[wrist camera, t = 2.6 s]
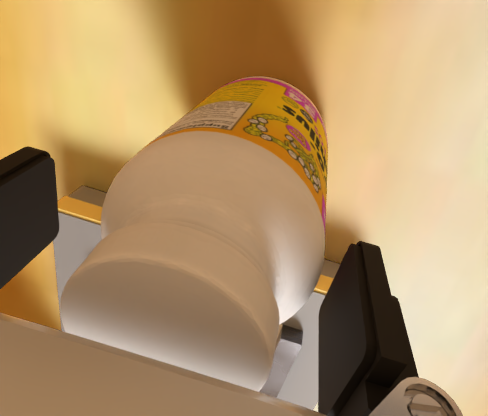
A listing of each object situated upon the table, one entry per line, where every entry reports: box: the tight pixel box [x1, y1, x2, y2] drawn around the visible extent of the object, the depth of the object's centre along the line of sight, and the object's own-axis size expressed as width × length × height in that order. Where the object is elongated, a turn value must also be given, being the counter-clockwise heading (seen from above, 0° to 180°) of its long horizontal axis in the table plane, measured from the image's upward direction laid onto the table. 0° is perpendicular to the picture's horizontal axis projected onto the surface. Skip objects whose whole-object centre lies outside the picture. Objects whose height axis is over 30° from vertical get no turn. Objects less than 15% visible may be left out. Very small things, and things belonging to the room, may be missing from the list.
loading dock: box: [53, 186, 340, 410], centre depth 24 cm, size 18×14×3 cm
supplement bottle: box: [60, 76, 328, 392], centre depth 13 cm, size 7×7×13 cm
